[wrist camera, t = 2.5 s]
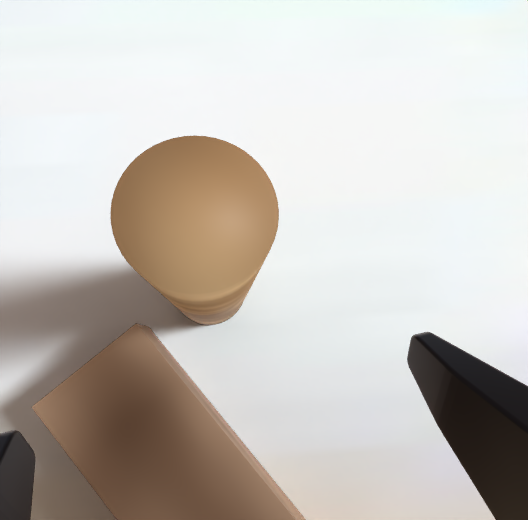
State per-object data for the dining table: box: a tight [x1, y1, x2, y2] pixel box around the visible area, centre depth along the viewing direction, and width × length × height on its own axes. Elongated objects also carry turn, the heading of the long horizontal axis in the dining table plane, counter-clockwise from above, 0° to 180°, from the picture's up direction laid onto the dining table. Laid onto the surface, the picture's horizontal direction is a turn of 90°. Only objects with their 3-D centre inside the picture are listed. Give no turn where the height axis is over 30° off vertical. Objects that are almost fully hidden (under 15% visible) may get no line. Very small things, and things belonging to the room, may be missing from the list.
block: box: [32, 323, 306, 520], centre depth 17 cm, size 5×14×3 cm, turn 41°
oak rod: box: [111, 136, 279, 325], centre depth 14 cm, size 4×4×12 cm
